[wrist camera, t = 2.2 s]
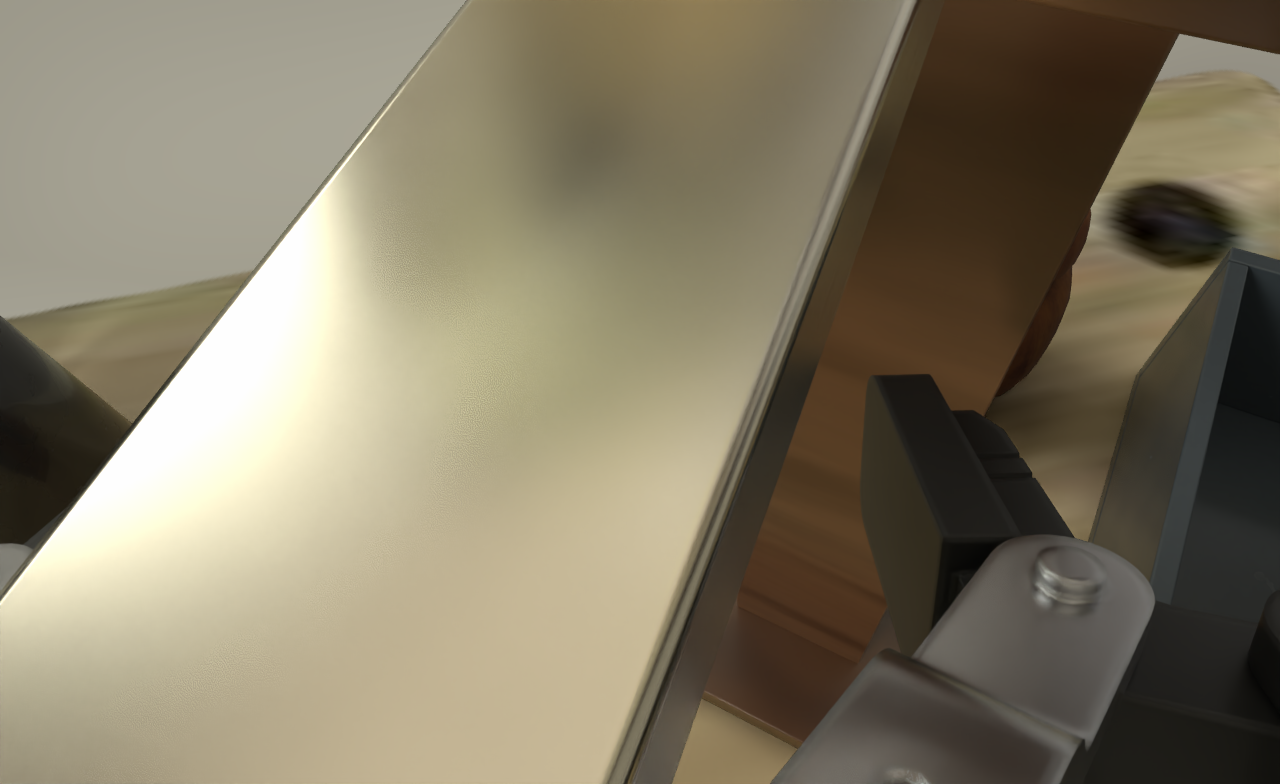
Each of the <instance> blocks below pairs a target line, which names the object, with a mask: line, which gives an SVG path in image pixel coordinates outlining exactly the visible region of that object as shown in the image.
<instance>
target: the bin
mask: <svg viewBox="0 0 1280 784" xmlns="http://www.w3.org/2000/svg"><path fill="white" fill-rule="evenodd" d="M1088 542H1090V543H1093V544H1095V545H1098V546H1101V547H1103V548H1105V549H1107V550H1109V551H1111V552H1113V553H1116V554H1117V555H1119V556H1120V557H1122V558H1124V559H1125V560H1127V561H1128V562H1130V563H1131V564H1132V565H1133V566H1135V567H1136V568H1137V569H1138V570H1139V571H1140V572H1141V573H1142V574H1143V575H1144V576H1145V577H1146V579H1147V580H1148V582H1149V583H1150V585H1151V587H1152V590H1153V592H1154V596H1155V600H1157V601H1160V602H1163V603H1166V604H1169V605H1173V606H1177V607H1181V608H1185V609H1190V610H1195V611H1200V612H1205V613H1210V614H1215V615H1220V616H1225V617H1230V618H1235V619H1240V620H1245V621H1251V622H1256V623H1259V620H1260V617H1261V614H1262V612H1263V609H1264V606H1265V603H1266V600H1267V599H1268V598H1269V596H1270V595H1271V594H1272V593H1274V592H1275V591H1277V590H1279V589H1280V260H1277V259H1273V258H1270V257H1266V256H1262V255H1259V254H1255V253H1252V252H1248V251H1244V250H1241V249H1237V248H1231V249H1230V251H1229V252H1228V253H1227V255H1226V256H1225V257H1224V259H1223V260H1222V261H1221V263H1220V264H1219V265H1218V267H1217V268H1216V269H1215V271H1214V272H1213V273H1212V275H1211V276H1210V277H1209V279H1208V280H1207V281H1206V283H1205V284H1204V285H1203V287H1202V288H1201V289H1200V291H1199V292H1198V293H1197V295H1196V296H1195V297H1194V299H1193V300H1192V301H1191V303H1190V304H1189V305H1188V307H1187V308H1186V309H1185V311H1184V312H1183V313H1182V315H1181V316H1180V317H1179V319H1178V320H1177V321H1176V323H1175V324H1174V325H1173V327H1172V328H1171V329H1170V331H1169V332H1168V333H1167V335H1166V336H1165V337H1164V339H1163V340H1162V341H1161V343H1160V344H1159V345H1158V347H1157V348H1156V349H1155V351H1154V352H1153V353H1152V355H1151V356H1150V357H1149V359H1148V360H1147V361H1146V363H1145V364H1144V365H1143V367H1142V368H1141V369H1140V371H1139V372H1138V373H1137V375H1136V377H1135V381H1134V384H1133V388H1132V391H1131V394H1130V398H1129V401H1128V405H1127V408H1126V412H1125V415H1124V419H1123V422H1122V426H1121V429H1120V433H1119V436H1118V440H1117V443H1116V447H1115V450H1114V454H1113V457H1112V461H1111V464H1110V468H1109V471H1108V475H1107V478H1106V482H1105V485H1104V489H1103V492H1102V496H1101V499H1100V502H1099V506H1098V509H1097V513H1096V516H1095V520H1094V523H1093V527H1092V530H1091V534H1090V537H1089V541H1088Z"/></svg>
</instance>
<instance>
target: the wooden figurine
mask: <svg viewBox="0 0 1280 784" xmlns="http://www.w3.org/2000/svg"><path fill="white" fill-rule="evenodd" d="M1090 220H1091V209H1090V210H1089V212H1088V214H1087V216H1086V218H1085V220H1084V222H1083V224H1082V226H1081V228H1080V230H1079V232H1078V234H1077V236H1076V238H1075V240H1074V242H1073V244H1072V246H1071V248H1070V250H1069V252H1068V253H1067V255H1066V257H1065V259H1064V261H1063V263H1062V265H1061V267H1060V269H1059V271H1058V273H1057V275H1056V277H1055V279H1054V281H1053V283H1052V285H1051V287H1050V289H1049V291H1048V293H1047V295H1046V297H1045V299H1044V301H1043V303H1042V305H1041V307H1040V308H1039V310H1038V312H1037V314H1036V316H1035V318H1034V320H1033V322H1032V324H1031V326H1030V328H1029V330H1028V332H1027V334H1026V336H1025V338H1024V340H1023V342H1022V344H1021V346H1020V348H1019V350H1018V352H1017V354H1016V356H1015V358H1014V360H1013V362H1012V364H1011V365H1010V367H1009V369H1008V371H1007V373H1006V375H1005V377H1004V379H1003V381H1002V383H1001V385H1000V387H999V389H998V391H997V393H996V395H995V397H997V396H1000V395H1002V394H1004V393H1005V392H1007V391H1008V390H1010V389H1011V388H1012V387H1014V386H1015V385H1016V384H1017V383H1018V382H1020V381H1021V380H1022V379H1023V378H1024V377H1026V376H1027V375H1028V374H1029V372H1030V371H1031V370H1032V369H1033V367H1034V366H1035V365H1036V364H1037V362H1038V361H1039V359H1040V358H1041V356H1042V355H1043V353H1044V352H1045V350H1046V349H1047V347H1048V345H1049V344H1050V342H1051V340H1052V338H1053V337H1054V335H1055V333H1056V331H1057V329H1058V326H1059V324H1060V322H1061V319H1062V317H1063V314H1064V312H1065V309H1066V307H1067V304H1068V302H1069V299H1070V292H1071V283H1072V265H1073V264H1074V263H1075V262H1076V260H1077V258H1078V256H1079V255H1080V253H1081V251H1082V249H1083V246H1084V244H1085V242H1086V239H1087V235H1088V231H1089V227H1090Z"/></svg>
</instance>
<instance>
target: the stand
mask: <svg viewBox="0 0 1280 784" xmlns="http://www.w3.org/2000/svg"><path fill="white" fill-rule="evenodd" d="M1179 34H1184V35H1189V36H1194V37H1199V38H1203V39H1208V40H1213V41H1218V42H1222V43H1227V44H1232V45H1237V46H1242V47H1247V48H1252V49H1257V50H1261V51H1266V52H1271V53H1275V54H1280V0H945V2H944V5H943V8H942V11H941V14H940V17H939V19H938V22H937V25H936V28H935V31H934V34H933V37H932V40H931V42H930V45H929V48H928V51H927V54H926V57H925V60H924V62H923V65H922V68H921V71H920V74H919V77H918V80H917V82H916V85H915V88H914V91H913V94H912V97H911V100H910V103H909V105H908V108H907V111H906V114H905V117H904V120H903V123H902V125H901V128H900V131H899V134H898V137H897V140H896V143H895V145H894V148H893V151H892V154H891V157H890V160H889V163H888V166H887V168H886V171H885V174H884V177H883V180H882V183H881V186H880V188H879V191H878V194H877V197H876V200H875V203H874V206H873V208H872V211H871V214H870V217H869V220H868V223H867V226H866V229H865V231H864V234H863V237H862V240H861V243H860V246H859V249H858V251H857V254H856V257H855V260H854V263H853V266H852V269H851V271H850V274H849V277H848V280H847V283H846V286H845V289H844V292H843V294H842V297H841V300H840V303H839V306H838V309H837V312H836V314H835V317H834V320H833V323H832V326H831V329H830V332H829V334H828V337H827V340H826V343H825V346H824V349H823V352H822V355H821V357H820V360H819V363H818V366H817V369H816V372H815V375H814V377H813V380H812V383H811V386H810V389H809V392H808V395H807V397H806V400H805V403H804V406H803V409H802V412H801V415H800V418H799V420H798V423H797V426H796V429H795V432H794V435H793V438H792V440H791V443H790V446H789V449H788V452H787V455H786V458H785V460H784V463H783V466H782V469H781V472H780V475H779V478H778V481H777V483H776V486H775V489H774V492H773V495H772V498H771V501H770V503H769V506H768V509H767V512H766V515H765V518H764V521H763V523H762V526H761V529H760V532H759V535H758V538H757V541H756V544H755V546H754V549H753V552H752V555H751V558H750V561H749V564H748V566H747V569H746V572H745V575H744V578H743V581H742V584H741V586H740V589H739V592H738V595H737V598H736V601H735V604H734V607H733V609H732V612H731V615H730V618H729V621H728V624H727V627H726V629H725V632H724V635H723V638H722V641H721V644H720V647H719V650H718V652H717V655H716V658H715V661H714V664H713V667H712V670H711V672H710V675H709V678H708V681H707V684H706V687H705V690H704V692H703V695H702V698H703V699H705V700H707V701H709V702H710V703H712V704H714V705H716V706H718V707H720V708H722V709H724V710H726V711H727V712H729V713H731V714H733V715H735V716H737V717H739V718H741V719H743V720H745V721H746V722H748V723H750V724H752V725H754V726H756V727H758V728H760V729H762V730H764V731H765V732H767V733H769V734H771V735H773V736H775V737H777V738H779V739H781V740H783V741H784V742H786V743H788V744H790V745H792V746H794V747H796V748H798V749H799V747H800V746H801V745H802V744H803V742H804V741H805V740H806V739H807V737H808V736H809V735H810V734H811V733H812V731H813V730H814V729H815V728H816V726H817V725H818V724H819V723H820V722H821V720H822V719H823V718H824V717H825V715H826V714H827V713H828V712H829V710H830V709H831V708H832V707H833V706H834V704H835V703H836V702H837V701H838V699H839V698H840V697H841V696H842V695H843V693H844V692H845V691H846V690H847V688H848V687H849V686H850V685H851V683H852V682H853V681H854V680H855V679H856V677H857V676H858V675H859V674H860V672H861V671H862V670H863V669H864V668H865V666H866V665H867V664H868V663H869V662H870V660H871V659H872V658H873V657H874V656H875V655H876V654H878V653H879V652H880V651H882V650H884V649H886V648H891V649H893V650H896V651H898V652H900V653H901V651H900V647H899V644H898V641H897V637H896V634H895V630H894V627H893V623H892V620H891V617H890V613H889V610H888V606H887V603H886V600H885V596H884V593H883V589H882V586H881V583H880V579H879V576H878V572H877V569H876V565H875V562H874V559H873V555H872V552H871V548H870V545H869V542H868V538H867V535H866V531H865V528H864V524H863V519H862V513H861V502H860V472H861V458H862V443H863V429H864V415H865V400H866V389H867V384H868V380H869V378H870V376H871V375H904V374H930V375H931V376H932V378H933V379H934V381H935V383H936V385H937V386H938V388H939V390H940V392H941V393H942V395H943V397H944V399H945V400H946V402H947V404H948V406H949V408H950V409H951V410H974V411H976V412H977V413H979V414H981V415H982V416H984V417H985V415H986V413H987V411H988V409H989V407H990V405H991V403H992V401H993V399H994V397H995V395H996V393H997V391H998V389H999V387H1000V385H1001V383H1002V381H1003V379H1004V377H1005V375H1006V373H1007V371H1008V369H1009V367H1010V365H1011V364H1012V362H1013V360H1014V358H1015V356H1016V354H1017V352H1018V350H1019V348H1020V346H1021V344H1022V342H1023V340H1024V338H1025V336H1026V334H1027V332H1028V330H1029V328H1030V326H1031V324H1032V322H1033V320H1034V318H1035V316H1036V314H1037V312H1038V310H1039V308H1040V307H1041V305H1042V303H1043V301H1044V299H1045V297H1046V295H1047V293H1048V291H1049V289H1050V287H1051V285H1052V283H1053V281H1054V279H1055V277H1056V275H1057V273H1058V271H1059V269H1060V267H1061V265H1062V263H1063V261H1064V259H1065V257H1066V255H1067V253H1068V252H1069V250H1070V248H1071V246H1072V244H1073V242H1074V240H1075V238H1076V236H1077V234H1078V232H1079V230H1080V228H1081V226H1082V224H1083V222H1084V220H1085V218H1086V216H1087V214H1088V212H1089V210H1090V208H1091V206H1092V204H1093V202H1094V200H1095V198H1096V197H1097V195H1098V193H1099V191H1100V189H1101V187H1102V185H1103V183H1104V181H1105V179H1106V177H1107V175H1108V173H1109V171H1110V169H1111V167H1112V165H1113V163H1114V161H1115V159H1116V157H1117V155H1118V153H1119V151H1120V149H1121V147H1122V145H1123V143H1124V142H1125V140H1126V138H1127V136H1128V134H1129V132H1130V130H1131V128H1132V126H1133V124H1134V122H1135V120H1136V118H1137V116H1138V114H1139V112H1140V110H1141V108H1142V106H1143V104H1144V102H1145V100H1146V98H1147V96H1148V94H1149V92H1150V90H1151V88H1152V86H1153V85H1154V83H1155V81H1156V79H1157V77H1158V74H1159V72H1160V71H1161V69H1162V67H1163V65H1164V63H1165V61H1166V59H1167V57H1168V55H1169V53H1170V51H1171V49H1172V47H1173V45H1174V43H1175V41H1176V39H1177V37H1178V35H1179Z"/></svg>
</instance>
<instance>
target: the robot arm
mask: <svg viewBox="0 0 1280 784" xmlns="http://www.w3.org/2000/svg"><path fill="white" fill-rule="evenodd" d="M131 425H132V423H131V422H130V421H128V420H127V419H126V418H125V417H123V416H122V415H121V414H120V413H119V412H117V411H116V410H115V409H114V408H112V407H111V406H110V405H109V404H108V403H106V402H105V401H104V400H103V399H101V398H100V397H99V396H98V395H97V394H95V393H94V392H93V391H92V390H90V389H89V388H88V387H87V386H86V385H84V384H83V383H82V382H81V381H79V380H78V379H77V378H76V377H75V376H73V375H72V374H71V373H70V372H68V371H67V370H66V369H65V368H64V367H62V366H61V365H60V364H59V363H57V362H56V361H55V360H54V359H53V358H51V357H50V356H49V355H48V354H46V353H45V352H44V351H43V350H42V349H40V348H39V347H38V346H37V345H35V344H34V343H33V342H32V341H31V340H29V339H28V338H27V337H26V336H24V335H23V334H22V333H21V332H20V331H18V330H17V329H16V328H15V327H13V326H12V325H11V324H10V323H9V322H7V321H6V320H5V319H4V318H2V317H1V316H0V591H1V590H2V589H3V587H4V586H5V585H6V583H7V582H8V581H9V580H10V578H11V577H12V576H13V575H14V573H15V572H16V571H17V569H18V568H19V567H20V566H21V564H22V563H23V562H24V561H25V559H26V558H27V557H28V556H29V554H30V553H31V552H32V550H33V549H34V548H35V547H36V545H37V544H38V543H39V542H40V540H41V539H42V538H43V537H44V535H45V534H46V533H47V531H48V530H49V529H50V528H51V526H52V525H53V524H54V523H55V521H56V520H57V519H58V518H59V516H60V515H61V514H62V512H63V511H64V510H65V509H66V507H67V506H68V505H69V504H70V502H71V501H72V500H73V498H74V497H75V496H76V495H77V493H78V492H79V491H80V490H81V488H82V487H83V486H84V485H85V483H86V482H87V481H88V479H89V478H90V477H91V476H92V474H93V473H94V472H95V471H96V469H97V468H98V467H99V466H100V464H101V463H102V462H103V460H104V459H105V458H106V457H107V455H108V454H109V453H110V452H111V450H112V449H113V448H114V446H115V445H116V444H117V443H118V441H119V440H120V439H121V438H122V436H123V435H124V434H125V433H126V431H127V430H128V429H129V427H130V426H131ZM860 502H861V513H862V519H863V524H864V528H865V531H866V535H867V538H868V542H869V545H870V548H871V552H872V555H873V559H874V562H875V565H876V569H877V572H878V576H879V579H880V583H881V586H882V589H883V593H884V596H885V600H886V603H887V606H888V610H889V613H890V617H891V620H892V623H893V627H894V630H895V634H896V637H897V641H898V644H899V647H900V651H901V653H900V652H898V651H896V650H893V649H891V648H886V649H884V650H882V651H880V652H879V653H878V654H876V655H875V656H874V657H873V658H872V659H871V660H870V662H869V663H868V664H867V665H866V666H865V668H864V669H863V670H862V671H861V672H860V674H859V675H858V676H857V677H856V679H855V680H854V681H853V682H852V683H851V685H850V686H849V687H848V688H847V690H846V691H845V692H844V693H843V695H842V696H841V697H840V698H839V699H838V701H837V702H836V703H835V704H834V706H833V707H832V708H831V709H830V710H829V712H828V713H827V714H826V715H825V717H824V718H823V719H822V720H821V722H820V723H819V724H818V725H817V726H816V728H815V729H814V730H813V731H812V733H811V734H810V735H809V736H808V737H807V739H806V740H805V741H804V742H803V744H802V745H801V746H800V747H799V749H798V750H797V751H796V752H795V753H794V755H793V756H792V757H791V758H790V760H789V761H788V762H787V763H786V764H785V766H784V767H783V768H782V769H781V771H780V772H779V773H778V774H777V776H776V777H775V778H774V779H773V780H772V782H771V783H770V784H1280V589H1279V590H1277V591H1275V592H1274V593H1272V594H1271V595H1270V596H1269V598H1268V599H1267V600H1266V603H1265V606H1264V609H1263V612H1262V614H1261V617H1260V620H1259V623H1256V622H1251V621H1245V620H1240V619H1235V618H1230V617H1225V616H1220V615H1215V614H1210V613H1205V612H1200V611H1195V610H1190V609H1185V608H1181V607H1177V606H1173V605H1169V604H1166V603H1163V602H1160V601H1157V600H1155V596H1154V592H1153V590H1152V587H1151V585H1150V583H1149V582H1148V580H1147V579H1146V577H1145V576H1144V575H1143V574H1142V573H1141V572H1140V571H1139V570H1138V569H1137V568H1136V567H1135V566H1133V565H1132V564H1131V563H1130V562H1128V561H1127V560H1125V559H1124V558H1122V557H1120V556H1119V555H1117V554H1116V553H1113V552H1111V551H1109V550H1107V549H1105V548H1103V547H1101V546H1098V545H1095V544H1093V543H1090V542H1087V541H1083V540H1080V539H1076V538H1075V537H1074V536H1073V534H1072V533H1071V531H1070V530H1069V528H1068V527H1067V525H1066V524H1065V522H1064V521H1063V519H1062V518H1061V516H1060V515H1059V513H1058V512H1057V510H1056V508H1055V507H1054V505H1053V504H1052V502H1051V501H1050V499H1049V498H1048V496H1047V495H1046V493H1045V492H1044V490H1043V489H1042V487H1041V486H1040V484H1039V483H1038V481H1037V480H1036V478H1032V472H1031V470H1030V469H1029V467H1028V466H1027V464H1026V463H1025V461H1024V460H1023V458H1019V452H1018V451H1017V449H1016V448H1015V446H1014V445H1013V443H1012V441H1011V440H1010V438H1009V437H1008V435H1007V434H1006V432H1005V431H1004V430H1003V429H1002V428H1000V427H999V426H997V425H996V424H994V423H993V422H991V421H990V420H988V419H987V418H985V417H984V416H982V415H981V414H979V413H977V412H976V411H974V410H951V409H950V408H949V406H948V404H947V402H946V400H945V399H944V397H943V395H942V393H941V392H940V390H939V388H938V386H937V385H936V383H935V381H934V379H933V378H932V376H931V375H930V374H904V375H871V376H870V378H869V380H868V384H867V389H866V400H865V415H864V429H863V443H862V458H861V472H860Z"/></svg>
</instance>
